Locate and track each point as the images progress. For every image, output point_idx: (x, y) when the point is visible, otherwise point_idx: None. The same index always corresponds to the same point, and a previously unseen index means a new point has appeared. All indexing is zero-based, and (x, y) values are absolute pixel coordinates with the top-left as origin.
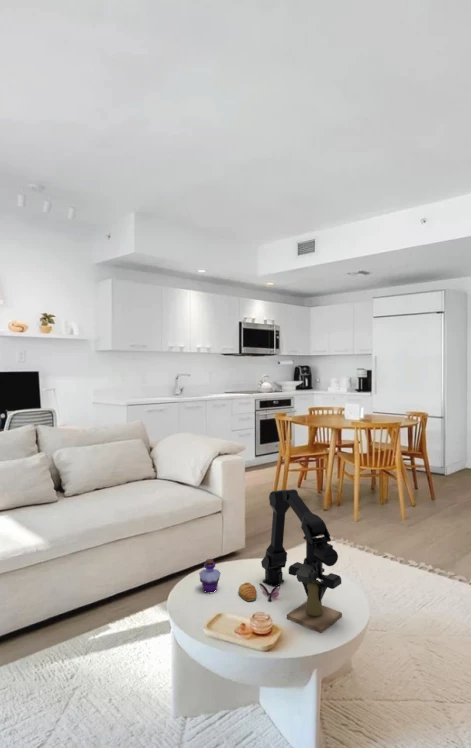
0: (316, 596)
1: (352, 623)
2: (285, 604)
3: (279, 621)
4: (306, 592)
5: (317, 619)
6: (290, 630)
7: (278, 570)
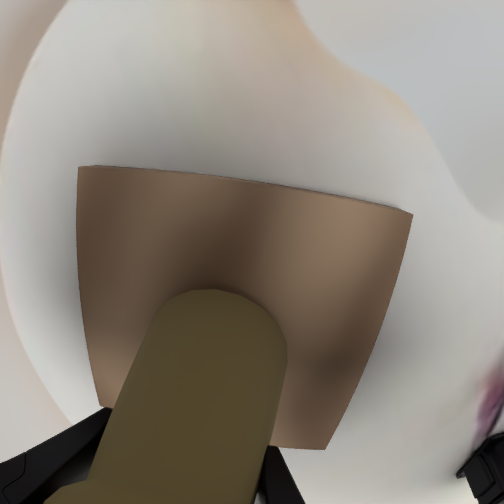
0: (103, 438)
1: (48, 351)
2: (446, 365)
3: (427, 148)
4: (282, 483)
5: (153, 277)
6: (298, 67)
7: (495, 494)
